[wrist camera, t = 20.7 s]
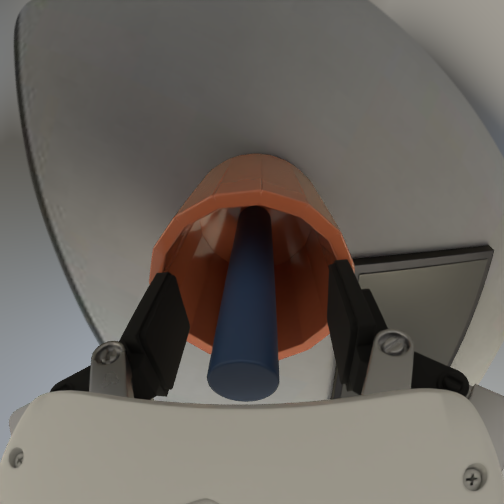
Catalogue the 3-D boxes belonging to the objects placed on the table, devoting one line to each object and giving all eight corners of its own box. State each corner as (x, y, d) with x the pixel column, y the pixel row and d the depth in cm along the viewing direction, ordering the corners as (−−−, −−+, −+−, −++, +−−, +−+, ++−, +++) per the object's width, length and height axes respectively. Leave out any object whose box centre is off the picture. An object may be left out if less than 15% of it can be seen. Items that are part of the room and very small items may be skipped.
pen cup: (183, 162, 18) (126, 206, 11) (316, 148, 18) (359, 183, 10) (205, 274, 23) (178, 363, 15) (319, 266, 22) (345, 354, 14)
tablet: (346, 259, 21) (349, 266, 20) (488, 244, 20) (495, 250, 19) (330, 403, 31) (331, 410, 30) (437, 381, 29) (439, 387, 28)
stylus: (236, 206, 19) (199, 361, 8) (269, 203, 19) (277, 359, 8) (240, 236, 20) (214, 402, 9) (272, 234, 20) (280, 401, 9)
